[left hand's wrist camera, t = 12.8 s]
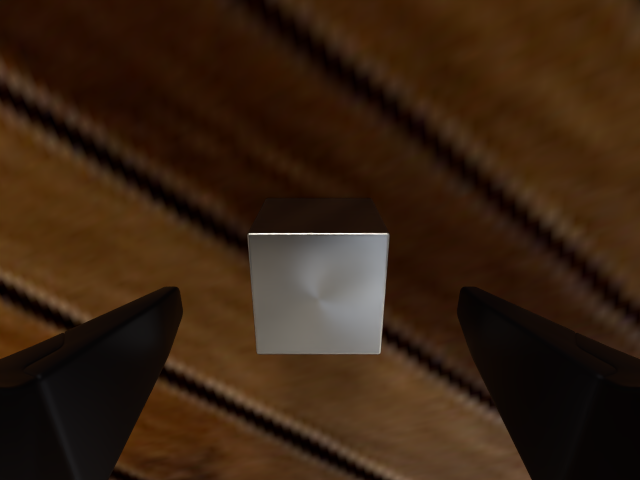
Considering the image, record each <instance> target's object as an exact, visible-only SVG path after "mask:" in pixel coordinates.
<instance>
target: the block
mask: <svg viewBox="0 0 640 480" xmlns="http://www.w3.org/2000/svg"><path fill="white" fill-rule="evenodd" d="M247 237H248V250H249V262H250V275H251V287H252V300H253V312H254V325H255V337H256V350H257V354H380V353H381V342H382V329H383V316H384V303H385V289H386V276H387V263H388V250H389V237H390V235H389V232H388V230H387V228H386V226H385V224H384V222H383V220H382V218H381V216H380V214H379V212H378V210H377V208H376V206H375V204H374V202H373V200H372V199H371V198H267V199H266V200H265V202H264V204H263V206H262V208H261V209H260V211H259V213H258V215H257V217H256V219H255V221H254V223H253V225H252V227H251V228H250V230H249V232H248V235H247Z"/></svg>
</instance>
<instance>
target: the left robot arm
mask: <svg viewBox="0 0 640 480" xmlns="http://www.w3.org/2000/svg"><path fill="white" fill-rule="evenodd" d="M182 315H183V308H182V302H181V295H180V291H179V288H177V287H163V288H161V289H159V290H157V291H154V292H152V293H150V294H148V295H145V296H143V297H141V298H139V299H137V300H134V301H132V302H130V303H128V304H125V305H123V306H121V307H119V308H117V309H114V310H112V311H110V312H108V313H106V314H103V315H101V316H99V317H97V318H94V319H92V320H90V321H88V322H86V323H83V324H81V325H79V326H77V327H74V328H72V329H70V330H68V331H66V332H65V333H61V334H59V335H57V336H54V337H52V338H50V339H48V340H45V341H43V342H41V343H38V344H36V345H34V346H32V347H29V348H27V349H24V350H22V351H19V352H17V353H14V354H12V355H10V356H7V357H5V358H2V359H0V480H108V479H109V477H110V475H111V473H112V471H113V469H114V467H115V465H116V463H117V461H118V459H119V457H120V455H121V452H122V450H123V448H124V446H125V444H126V442H127V440H128V438H129V436H130V434H131V432H132V430H133V428H134V426H135V424H136V422H137V420H138V418H139V416H140V414H141V412H142V409H143V407H144V405H145V403H146V401H147V399H148V397H149V395H150V393H151V391H152V389H153V387H154V385H155V383H156V381H157V379H158V377H159V375H160V373H161V371H162V369H163V366H164V364H165V362H166V360H167V358H168V356H169V353H170V350H171V348H172V345H173V342H174V339H175V336H176V333H177V330H178V327H179V324H180V322H181V319H182ZM457 315H458V319H459V322H460V325H461V327H462V330H463V333H464V336H465V339H466V342H467V345H468V348H469V350H470V353H471V356H472V358H473V360H474V362H475V364H476V366H477V369H478V371H479V373H480V375H481V377H482V379H483V381H484V383H485V385H486V387H487V389H488V391H489V393H490V395H491V397H492V399H493V401H494V403H495V405H496V407H497V409H498V412H499V414H500V416H501V418H502V420H503V422H504V424H505V426H506V428H507V430H508V432H509V434H510V436H511V438H512V440H513V442H514V444H515V446H516V448H517V450H518V452H519V455H520V457H521V459H522V461H523V463H524V465H525V467H526V469H527V471H528V473H529V475H530V477H531V479H532V480H640V359H638V358H635V357H633V356H630V355H628V354H626V353H623V352H621V351H618V350H616V349H613V348H611V347H608V346H606V345H604V344H602V343H599V342H597V341H595V340H592V339H590V338H588V337H586V336H583V335H581V334H579V333H575V332H574V331H572V330H570V329H568V328H566V327H563V326H561V325H559V324H557V323H554V322H552V321H550V320H548V319H546V318H543V317H541V316H539V315H537V314H534V313H532V312H530V311H528V310H526V309H523V308H521V307H519V306H517V305H515V304H512V303H510V302H508V301H506V300H503V299H501V298H499V297H497V296H495V295H492V294H490V293H488V292H486V291H483V290H481V289H479V288H477V287H463V288H461V291H460V295H459V302H458V308H457Z"/></svg>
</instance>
